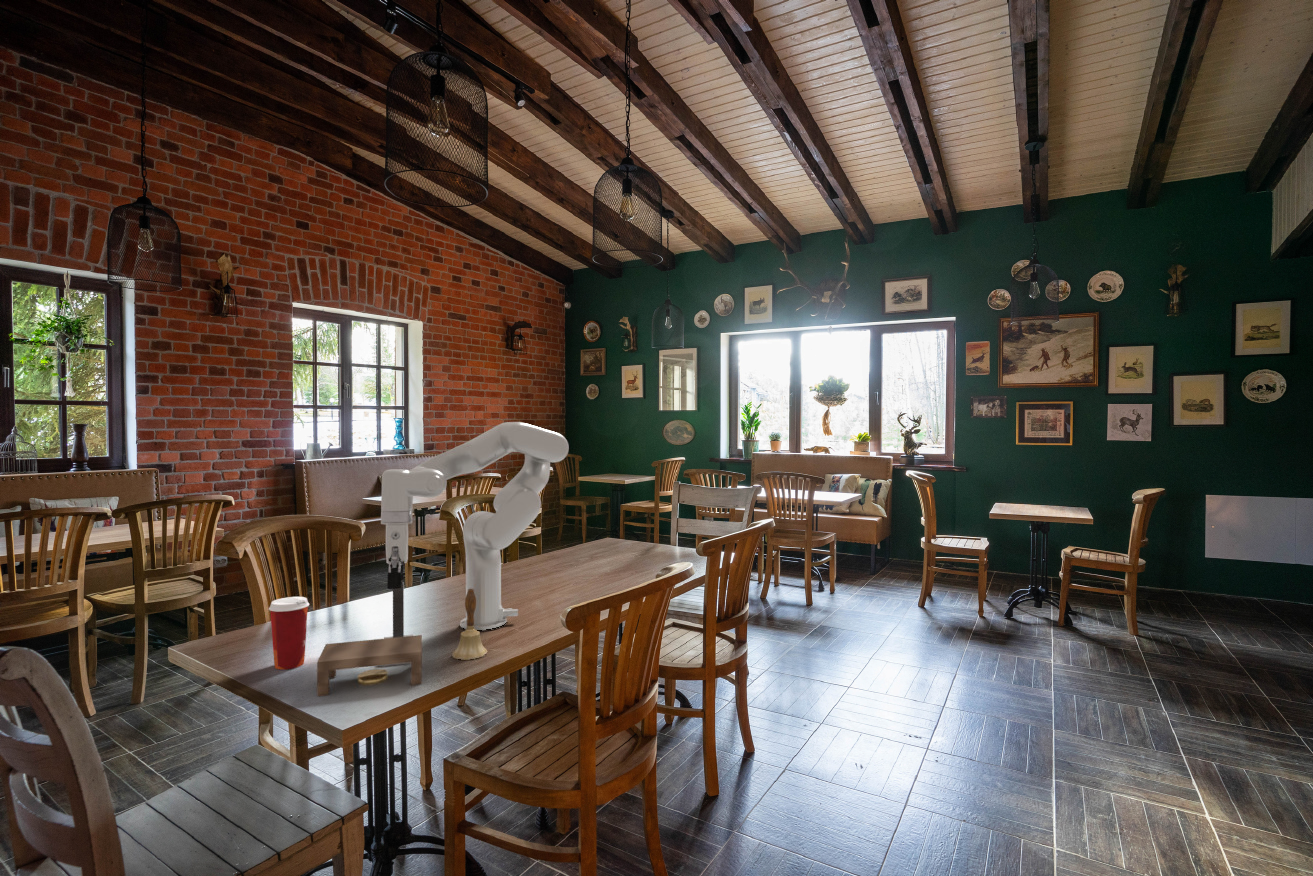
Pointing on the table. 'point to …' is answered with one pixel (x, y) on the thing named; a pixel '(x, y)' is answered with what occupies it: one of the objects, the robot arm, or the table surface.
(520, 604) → the table surface
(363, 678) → the brass puck
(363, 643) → the walnut bench
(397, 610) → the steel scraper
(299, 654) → the coffee cup
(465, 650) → the hand bell
